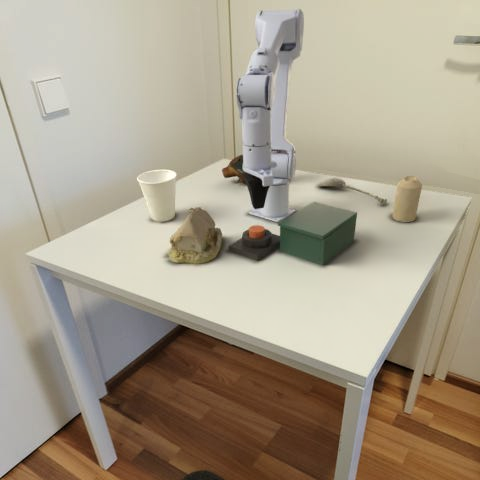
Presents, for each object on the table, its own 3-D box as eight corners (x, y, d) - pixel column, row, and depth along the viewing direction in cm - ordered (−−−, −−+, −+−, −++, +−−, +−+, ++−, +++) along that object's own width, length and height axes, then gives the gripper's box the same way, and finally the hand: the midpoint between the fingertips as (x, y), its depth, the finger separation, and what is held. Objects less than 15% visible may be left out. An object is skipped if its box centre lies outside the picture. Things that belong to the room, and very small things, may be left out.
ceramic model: (208, 268, 96) (203, 224, 90) (161, 261, 99) (154, 219, 93) (230, 238, 107) (227, 198, 101) (187, 233, 110) (182, 194, 104)
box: (322, 265, 95) (324, 238, 91) (279, 251, 101) (279, 225, 97) (353, 241, 103) (356, 215, 99) (312, 229, 109) (313, 204, 105)
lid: (322, 239, 91) (322, 235, 90) (277, 225, 96) (277, 222, 96) (356, 215, 99) (357, 212, 99) (313, 204, 105) (314, 201, 105)
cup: (137, 222, 117) (129, 180, 110) (156, 208, 124) (150, 167, 117) (170, 227, 113) (164, 184, 107) (188, 212, 121) (183, 171, 114)
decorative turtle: (276, 183, 135) (275, 156, 129) (226, 191, 133) (223, 165, 128) (268, 170, 142) (267, 145, 137) (221, 179, 141) (218, 153, 136)
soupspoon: (330, 183, 135) (314, 190, 132) (330, 172, 133) (314, 179, 130) (392, 201, 120) (376, 209, 117) (393, 189, 118) (377, 197, 115)
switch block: (229, 251, 102) (228, 238, 100) (257, 234, 108) (257, 221, 106) (256, 261, 98) (256, 248, 96) (284, 242, 104) (284, 230, 102)
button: (245, 236, 101) (245, 229, 100) (255, 230, 103) (255, 223, 102) (258, 241, 99) (258, 233, 98) (268, 234, 101) (268, 227, 100)
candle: (416, 222, 109) (424, 182, 103) (392, 221, 110) (399, 181, 104) (414, 213, 114) (422, 174, 108) (391, 212, 115) (398, 173, 109)
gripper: (288, 150, 85) (287, 217, 93) (264, 131, 96) (265, 192, 104) (252, 155, 83) (254, 223, 91) (232, 135, 95) (236, 197, 103)
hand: (258, 207), depth 98 cm, fingers closed
